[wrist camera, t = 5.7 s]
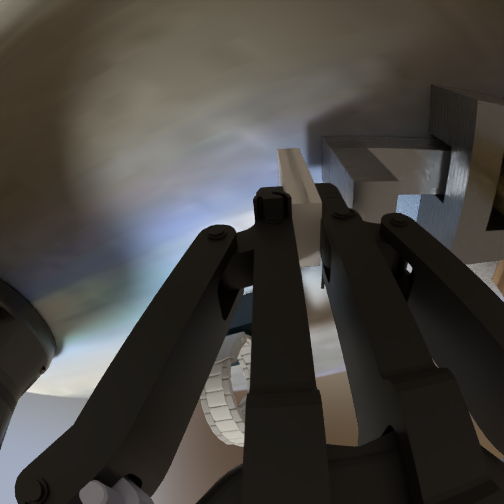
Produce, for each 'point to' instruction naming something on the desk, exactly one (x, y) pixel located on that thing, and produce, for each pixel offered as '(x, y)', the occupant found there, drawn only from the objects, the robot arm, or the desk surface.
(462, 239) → the socket block
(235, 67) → the desk surface
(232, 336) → the watch
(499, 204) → the tan rounded cylinder
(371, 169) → the grey l-shaped block
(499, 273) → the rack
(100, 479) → the robot arm
